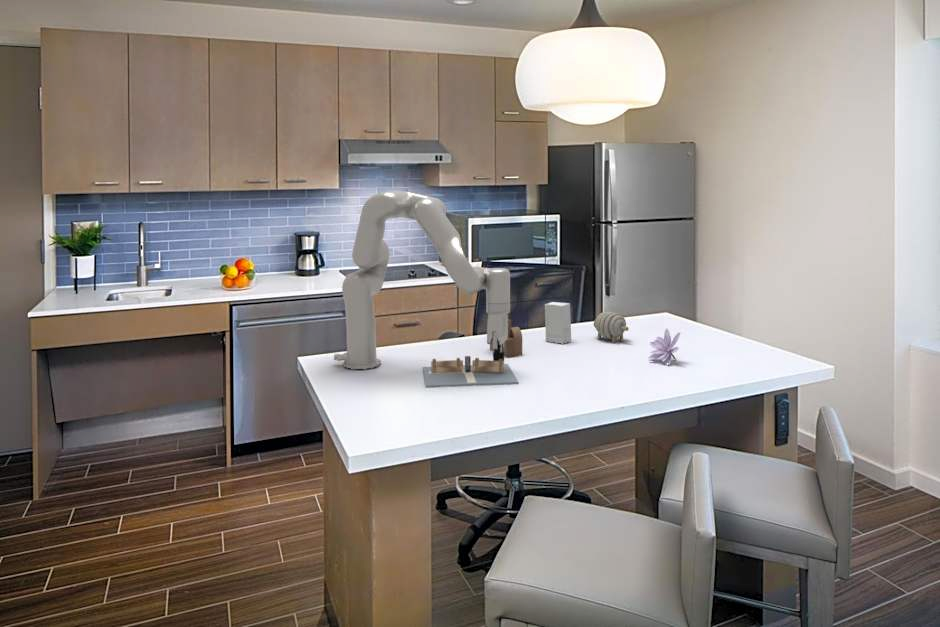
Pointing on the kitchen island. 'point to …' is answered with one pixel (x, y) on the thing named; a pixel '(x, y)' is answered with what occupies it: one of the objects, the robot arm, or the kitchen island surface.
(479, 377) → the board
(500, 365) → the tan wooden bar
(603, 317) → the toy sheep
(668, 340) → the water lily
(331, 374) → the kitchen island surface
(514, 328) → the wooden toy
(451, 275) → the robot arm
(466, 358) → the fence post
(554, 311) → the skincare box
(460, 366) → the fixed fence rail
